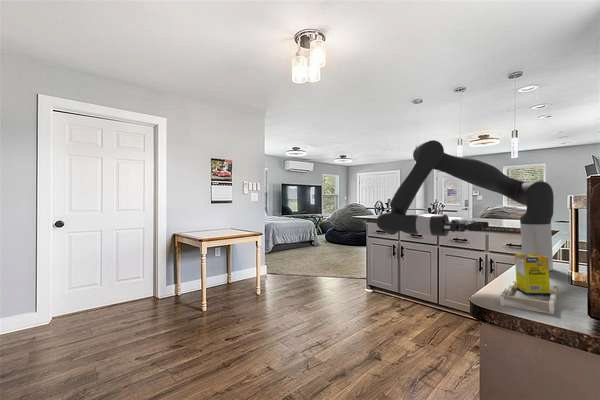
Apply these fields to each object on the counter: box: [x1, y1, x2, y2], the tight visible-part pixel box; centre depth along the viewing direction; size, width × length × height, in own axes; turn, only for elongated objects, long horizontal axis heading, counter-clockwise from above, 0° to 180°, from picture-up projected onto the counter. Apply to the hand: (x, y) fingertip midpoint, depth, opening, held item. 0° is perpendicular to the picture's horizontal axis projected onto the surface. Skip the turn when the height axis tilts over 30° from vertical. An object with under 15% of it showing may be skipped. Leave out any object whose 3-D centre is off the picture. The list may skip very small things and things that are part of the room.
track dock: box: [499, 280, 559, 315], centre depth 83 cm, size 22×11×2 cm, turn 137°
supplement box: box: [514, 253, 551, 297], centre depth 87 cm, size 6×6×11 cm
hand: (485, 226), depth 95 cm, fingers open, 8 cm apart
